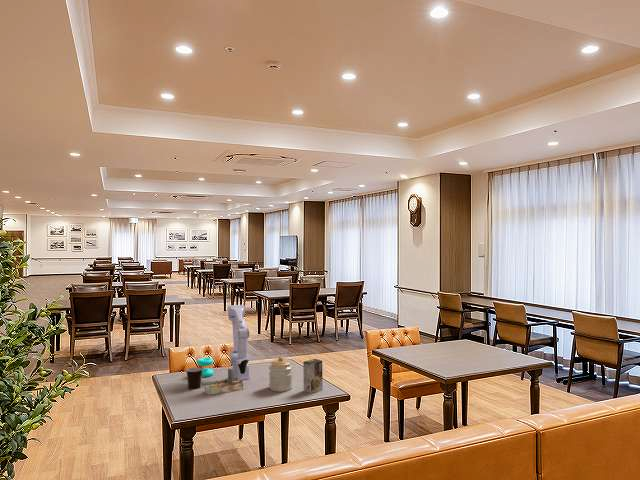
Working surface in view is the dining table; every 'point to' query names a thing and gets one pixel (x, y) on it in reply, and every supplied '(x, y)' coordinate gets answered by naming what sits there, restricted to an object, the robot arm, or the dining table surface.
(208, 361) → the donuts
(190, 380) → the coffee mug
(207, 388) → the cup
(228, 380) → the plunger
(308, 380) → the coffee box
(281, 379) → the jar
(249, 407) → the dining table surface
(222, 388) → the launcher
